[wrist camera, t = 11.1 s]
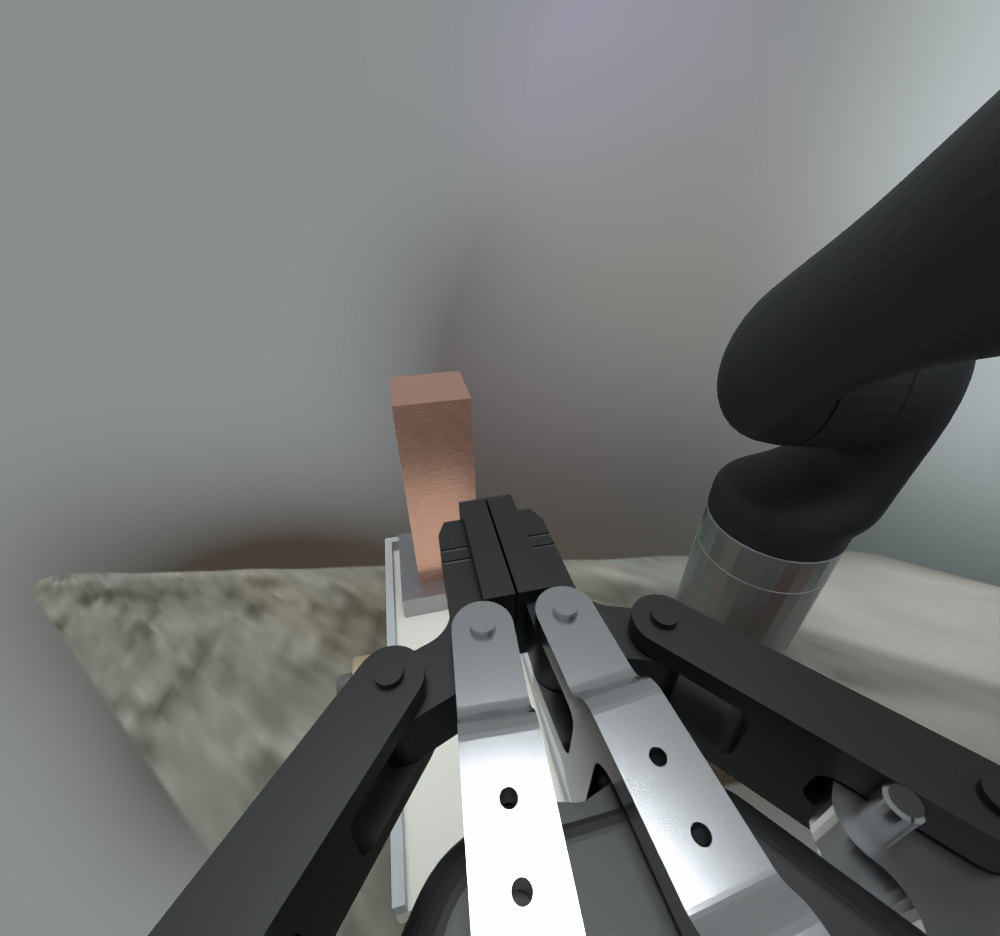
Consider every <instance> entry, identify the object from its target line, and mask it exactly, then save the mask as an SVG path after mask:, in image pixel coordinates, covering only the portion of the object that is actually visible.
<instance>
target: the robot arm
mask: <svg viewBox="0 0 1000 936" xmlns="http://www.w3.org/2000/svg"><path fill="white" fill-rule="evenodd" d="M997 356H1000V90H999V91H998V92H997V93H996V94H995V95H994V96H993V97H991V99H989V100H988V101H987V102H986V103H985V104H984V105H983V106H982V107H981V108H980V109H979V110H978V111H977V112H976V113H974V114H973V115H972V116H971V117H970V118H969V119H968V120H967V121H966V122H965V123H964V124H963V125H962V126H960V127H959V128H958V129H957V130H956V131H955V132H954V133H953V134H952V135H951V136H950V137H949V138H947V139H946V140H945V141H944V142H943V143H942V144H941V145H940V146H939V147H938V148H937V149H936V150H935V151H933V152H932V154H930V155H929V156H928V157H927V158H926V159H925V160H924V161H923V162H922V163H921V164H920V165H918V166H917V167H916V168H915V169H914V170H913V171H912V172H911V173H910V174H909V175H908V176H907V177H906V178H904V179H903V180H902V181H901V182H900V183H899V184H898V185H897V186H896V187H895V188H893V189H892V190H891V191H890V192H889V193H888V194H887V195H886V196H884V197H883V198H882V200H880V201H879V202H878V203H877V204H876V205H874V206H873V207H872V208H871V209H870V210H869V211H867V212H866V213H865V214H864V215H863V216H861V217H860V218H859V219H858V220H857V221H856V222H854V223H853V224H852V225H851V226H850V227H848V228H847V229H846V230H845V231H843V232H842V233H841V234H840V235H839V236H838V237H836V238H835V239H834V240H833V241H831V242H830V243H829V244H827V245H826V246H825V247H824V248H822V249H821V250H820V251H819V252H817V253H816V254H815V255H814V256H812V257H811V258H810V259H808V260H807V261H806V262H805V263H804V264H802V265H801V266H800V267H798V268H797V269H796V270H795V271H793V272H792V273H791V274H790V275H789V276H787V277H786V278H785V279H784V280H782V281H781V282H780V283H779V284H777V285H776V286H775V287H774V288H772V289H771V290H770V291H769V292H768V293H767V294H766V295H765V296H764V297H763V298H762V299H761V300H759V301H758V302H757V304H756V305H755V306H754V307H753V308H752V309H751V310H750V312H749V313H748V314H747V315H746V316H745V317H744V319H743V320H742V322H741V323H740V325H739V326H738V328H737V329H736V331H735V333H734V334H733V336H732V338H731V340H730V342H729V344H728V346H727V348H726V350H725V352H724V355H723V358H722V361H721V364H720V368H719V373H718V380H717V393H718V394H717V395H718V400H719V404H720V408H721V410H722V413H723V415H724V417H725V418H726V419H727V421H728V422H729V424H730V425H731V426H732V427H733V428H734V429H736V430H737V431H738V432H739V433H741V434H742V435H745V436H746V437H749V438H751V439H753V440H757V441H761V442H766V443H770V444H776V445H782V446H779V447H777V448H774V449H771V450H768V451H764V452H761V453H757V454H753V455H749V456H745V457H742V458H739V459H736V460H734V461H732V462H730V463H728V464H727V465H725V466H724V467H723V468H722V469H721V470H720V471H719V472H718V474H717V475H716V477H715V480H714V482H713V484H712V488H711V491H710V494H709V497H708V500H707V503H706V506H705V510H704V513H703V516H702V519H701V522H700V525H699V529H698V532H697V535H696V538H695V541H694V544H693V547H692V550H691V553H690V556H689V559H688V562H687V565H686V568H685V571H684V574H683V578H682V581H681V584H680V587H679V590H678V593H677V596H676V599H672V598H670V597H667V596H663V595H655V594H654V595H647V596H644V597H641V598H640V599H638V600H637V601H636V602H635V604H634V606H633V608H624V607H613V606H605V605H601V604H597V603H595V602H592V601H591V600H590V598H589V597H588V596H587V595H586V594H584V593H583V592H581V591H579V590H578V589H576V587H575V586H574V584H573V582H572V580H571V578H570V575H569V573H568V571H567V569H566V567H565V565H564V563H563V561H562V559H561V557H560V555H559V553H558V550H557V548H556V546H554V542H553V540H552V538H551V536H550V535H549V532H548V530H547V527H546V525H545V523H544V521H543V519H542V518H541V517H539V516H538V515H537V514H536V513H535V512H533V511H532V510H531V509H527V510H520V511H517V509H516V506H515V504H514V501H513V499H512V496H511V495H502V496H495V497H488V498H485V499H484V498H482V499H475V500H468V501H462V502H459V515H460V520H455V521H449V522H444V523H443V525H442V528H441V530H440V533H439V535H438V538H439V547H440V555H441V564H442V573H443V579H444V585H445V592H446V598H447V604H448V611H449V617H450V618H449V621H448V624H447V626H446V628H445V629H444V630H443V632H442V633H441V634H440V635H439V636H438V637H437V638H435V639H434V640H433V641H431V642H429V643H428V644H426V645H424V646H422V647H420V648H418V649H417V650H415V651H414V650H412V649H411V648H408V647H405V646H400V645H393V646H387V647H384V648H381V649H379V650H377V651H375V652H374V653H372V654H371V655H370V656H368V657H367V658H366V659H365V660H364V661H363V662H362V664H361V665H360V666H359V668H358V669H357V670H356V671H355V673H354V674H353V675H352V676H351V678H350V679H349V680H348V682H347V683H346V684H345V685H344V687H343V688H342V689H341V690H340V692H339V693H338V694H337V696H336V697H335V698H334V699H333V701H332V702H331V703H330V704H329V706H328V707H327V708H326V710H325V711H324V712H323V713H322V715H321V716H320V717H319V718H318V720H317V721H316V722H315V724H314V725H313V726H312V727H311V729H310V730H309V731H308V732H307V734H306V735H305V736H304V738H303V739H302V740H301V741H300V743H299V744H298V745H297V746H296V748H295V749H294V750H293V752H292V753H291V754H290V755H289V757H288V758H287V759H286V760H285V762H284V763H283V764H282V766H281V767H280V768H279V769H278V771H277V772H276V773H275V774H274V776H273V777H272V778H271V780H270V781H269V782H268V783H267V785H266V786H265V787H264V788H263V790H262V791H261V792H260V794H259V795H258V796H257V797H256V799H255V800H254V801H253V802H252V804H251V805H250V806H249V808H248V809H247V810H246V811H245V813H244V814H243V815H242V816H241V818H240V819H239V820H238V822H237V823H236V824H235V825H234V827H233V828H232V829H231V830H230V832H229V833H228V834H227V836H226V837H225V838H224V839H223V841H222V842H221V843H220V844H219V846H218V847H217V848H216V850H215V851H214V852H213V853H212V855H211V856H210V857H209V858H208V860H207V861H206V862H205V864H204V865H203V866H202V867H201V869H200V870H199V871H198V873H197V874H196V875H195V876H194V878H193V879H192V880H191V882H190V883H189V884H188V885H187V886H186V888H185V889H184V890H183V892H182V893H181V894H180V895H179V897H178V898H177V899H176V900H175V902H174V903H173V904H172V906H171V907H170V908H169V909H168V911H167V912H166V913H165V915H164V916H163V917H162V918H161V920H160V921H159V922H158V923H157V925H156V926H155V927H154V928H153V930H152V931H151V932H150V934H149V935H148V936H335V935H336V933H337V931H338V929H339V928H340V926H341V924H342V922H343V920H344V918H345V916H346V915H347V913H348V911H349V909H350V907H351V905H352V903H353V902H354V900H355V898H356V896H357V894H358V892H359V890H360V889H361V887H362V885H363V883H364V881H365V879H366V877H367V876H368V874H369V872H370V870H371V868H372V866H373V865H374V863H375V861H376V859H377V857H378V855H379V853H380V852H381V850H382V848H383V846H384V844H385V842H386V840H387V839H388V837H389V835H390V833H391V831H392V829H393V827H394V826H395V824H396V822H397V820H398V818H399V816H400V814H401V813H402V811H403V809H404V807H405V805H406V803H407V801H408V800H409V798H410V796H411V794H412V792H413V790H414V788H415V787H416V785H417V783H418V781H419V779H420V777H421V775H422V774H423V772H424V770H425V768H426V766H427V764H428V763H429V761H430V759H431V757H432V755H433V753H434V750H435V749H436V748H437V747H439V746H440V745H442V744H443V743H445V742H446V741H448V740H449V739H451V738H452V737H454V736H455V735H457V734H458V745H459V760H460V775H461V790H462V805H463V820H464V835H465V836H464V837H463V838H462V839H460V840H459V841H458V842H457V843H456V844H455V845H454V846H453V847H451V848H450V849H449V851H448V852H447V853H446V854H445V855H444V856H443V857H442V858H441V860H440V861H439V862H438V864H437V865H436V866H435V868H434V869H433V871H432V872H431V874H430V875H429V877H428V878H427V880H426V882H425V884H424V886H423V887H422V889H421V891H420V893H419V895H418V897H417V899H416V902H415V904H414V906H413V909H412V911H411V913H410V916H409V918H408V920H407V923H406V925H405V928H404V930H403V932H402V935H401V936H1000V765H998V764H996V763H994V762H992V761H990V760H988V759H986V758H984V757H982V756H980V755H979V754H977V753H975V752H973V751H971V750H969V749H967V748H965V747H963V746H961V745H959V744H957V743H955V742H953V741H951V740H949V739H947V738H945V737H943V736H941V735H939V734H937V733H935V732H933V731H931V730H930V729H928V728H926V727H924V726H922V725H920V724H918V723H916V722H914V721H912V720H910V719H908V718H906V717H904V716H902V715H900V714H898V713H896V712H894V711H892V710H890V709H888V708H886V707H884V706H882V705H881V704H879V703H877V702H875V701H873V700H871V699H869V698H867V697H865V696H863V695H861V694H859V693H857V692H855V691H853V690H851V689H849V688H847V687H845V686H843V685H841V684H839V683H837V682H835V681H833V680H832V679H830V678H828V677H826V676H824V675H822V674H820V673H818V672H816V671H814V670H812V669H810V668H808V667H806V666H804V665H802V664H800V663H798V662H796V661H794V660H792V659H790V658H788V657H786V656H784V655H783V654H784V653H785V651H786V649H787V647H788V646H789V644H790V642H791V641H792V639H793V637H794V636H795V634H796V632H797V631H798V629H799V627H800V626H801V624H802V622H803V621H804V619H805V617H806V616H807V614H808V612H809V611H810V609H811V607H812V605H813V604H814V602H815V600H816V599H817V597H818V595H819V594H820V592H821V590H822V589H823V587H824V585H825V584H826V582H827V580H828V578H829V576H830V575H831V573H832V571H833V570H834V568H835V566H836V565H837V563H838V561H839V560H840V558H841V556H842V554H843V553H844V551H845V549H846V548H847V546H848V544H849V543H850V541H851V540H852V538H853V537H855V536H857V535H859V534H861V533H863V532H864V531H866V530H868V529H869V528H870V527H871V526H873V525H874V524H875V523H876V522H877V521H878V520H879V519H880V518H881V516H882V515H883V514H884V513H885V511H886V510H887V509H888V507H889V506H890V504H891V503H892V501H893V500H894V498H895V497H896V495H897V494H898V493H899V492H900V490H901V489H902V488H903V486H904V485H905V483H906V482H907V481H908V479H909V478H910V476H911V475H912V473H913V472H914V471H915V470H916V468H917V467H918V466H919V464H920V463H921V461H922V460H923V459H924V457H925V456H926V455H927V453H928V452H929V451H930V449H931V448H932V447H933V445H934V444H935V442H936V441H937V440H938V438H939V437H940V435H941V434H942V432H943V431H944V429H945V428H946V426H947V425H948V423H949V422H950V420H951V418H952V416H953V415H954V413H955V411H956V410H957V408H958V406H959V404H960V403H961V401H962V398H963V397H964V394H965V392H966V390H967V387H968V385H969V382H970V380H971V377H972V374H973V371H974V367H975V362H976V360H977V359H983V358H990V357H997ZM527 652H528V656H529V659H530V662H531V665H532V672H531V679H532V683H533V686H534V689H535V691H536V694H537V697H538V699H539V702H540V704H541V707H542V709H543V712H544V715H545V717H546V720H547V722H548V725H549V728H550V730H551V733H552V735H553V738H554V741H555V743H556V746H557V748H558V751H559V754H560V756H561V759H562V763H563V767H564V772H565V779H566V784H567V788H568V791H569V795H570V798H571V801H572V802H556V797H555V793H554V788H553V784H552V779H551V774H550V770H549V765H548V761H547V756H546V752H545V747H544V742H543V738H542V733H541V729H540V724H539V720H538V717H537V714H536V711H535V709H534V708H532V706H531V703H530V699H529V695H528V690H527V685H526V680H525V676H524V671H523V666H522V661H521V656H520V654H522V653H527ZM705 759H707V760H708V761H710V762H711V763H713V764H714V765H716V766H717V767H719V768H720V769H722V770H723V771H724V772H726V773H727V774H729V775H730V776H732V777H733V778H735V779H736V780H738V781H739V782H741V783H742V784H744V785H745V786H747V787H748V788H750V789H751V790H752V791H754V792H755V793H757V794H758V795H760V796H761V797H763V798H764V799H766V800H767V801H769V802H770V803H772V804H773V805H775V806H776V807H777V808H779V809H780V810H782V811H783V812H785V813H786V814H788V815H789V816H791V817H792V818H794V819H795V820H797V821H798V822H800V823H801V824H803V825H804V826H805V827H807V828H808V829H810V830H811V833H812V836H813V839H814V841H815V843H816V845H817V851H818V854H817V853H815V852H814V851H813V850H811V849H810V848H808V847H807V846H806V845H804V844H803V843H802V842H800V841H799V840H798V839H796V838H795V837H794V836H792V835H791V834H789V833H788V832H787V831H785V830H784V829H783V828H781V827H780V826H778V825H777V824H776V823H774V822H773V821H772V820H770V819H769V818H768V817H766V816H765V815H764V814H762V813H761V812H759V811H758V810H757V809H755V808H754V807H753V806H751V805H750V804H749V803H747V802H746V801H744V800H743V799H742V798H740V797H739V796H737V795H736V794H734V793H732V792H731V791H729V790H727V789H725V788H724V787H722V785H721V783H720V782H719V780H718V779H717V777H716V775H715V774H714V772H713V771H712V769H711V768H710V766H709V764H708V763H707V761H706V760H705Z"/></svg>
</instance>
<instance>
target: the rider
mask: <svg viewBox="0 0 1000 936" xmlns="http://www.w3.org/2000/svg"><path fill="white" fill-rule="evenodd" d="M390 386H391V402H392V411H393V417H394V424H395V430H396V436H397V443H398V449H399V455H400V462H401V467H402V474H403V480H404V486H405V493H406V500H407V506H408V512H409V519H410V525H411V531H412V533H407V534H400V535H398V539H399V556H400V573H401V590H402V603H403V608H404V613H405V618H408V617H413V616H418V615H423V614H428V613H433V612H439V611H444V610H448V604H447V598H446V592H445V585H444V579H443V573H442V564H441V555H440V547H439V538H438V535H439V533H440V530H441V528H442V525H443V523H444V522H449V521H455V520H460V515H459V502H462V501H468V500H475V499H476V490H475V472H474V471H475V470H474V448H473V427H472V406H471V397H470V395H469V392H468V390H467V388H466V385H465V383H464V381H463V379H462V376H461V374H460V372H459V371H454V372H442V373H431V374H420V375H409V376H398V377H390Z"/></svg>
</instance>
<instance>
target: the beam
mask: <svg viewBox="0 0 1000 936" xmlns="http://www.w3.org/2000/svg"><path fill="white" fill-rule="evenodd" d="M385 559H386V560H385V561H386V615H387V646H393V645H400V646H405V647H408V648H411V649H412V650H414V651H415V650H417V649H418V648H420V647H422V646H424V645H426V644H428V643H429V642H431V641H433V640H434V639H435V638H437V637H438V636H439V635H440V634H441V633H442V632H443V630H444V629H445V628H446V626H447V624H448V621H449V618H450V617H449V611H448V610H444V611H439V612H433V613H428V614H423V615H418V616H413V617H408V618H405V613H404V608H403V603H402V590H401V573H400V556H399V539H398V537H393V538H387V539H385ZM520 656H521V661H522V666H523V671H524V676H525V680H526V685H527V690H528V695H529V699H530V703H531V706H532V708H534V709H535V711H536V714H537V717H538V720H539V724H540V729H541V733H542V738H543V742H544V747H545V752H546V756H547V761H548V765H549V770H550V774H551V779H552V784H553V788H554V793H555V797H556V802H572V801H571V798H570V795H569V791H568V788H567V784H566V779H565V772H564V767H563V763H562V759H561V756H560V754H559V751H558V748H557V746H556V743H555V741H554V738H553V735H552V733H551V730H550V728H549V725H548V722H547V720H546V717H545V715H544V712H543V709H542V707H541V704H540V702H539V699H538V697H537V694H536V691H535V689H534V686H533V683H532V679H531V672H532V665H531V662H530V659H529V656H528V652H527V653H522V654H520ZM464 836H465V835H464V820H463V805H462V790H461V775H460V760H459V745H458V734H457V735H455V736H454V737H452V738H451V739H449V740H448V741H446V742H445V743H443V744H442V745H440V746H439V747H437V748H436V749H435V750H434V753H433V755H432V757H431V759H430V761H429V763H428V764H427V766H426V768H425V770H424V772H423V774H422V775H421V777H420V779H419V781H418V783H417V785H416V787H415V788H414V790H413V792H412V794H411V796H410V798H409V800H408V801H407V803H406V805H405V807H404V809H403V811H402V813H401V814H400V816H399V818H398V820H397V822H396V824H395V826H394V827H393V829H392V831H391V885H392V910H393V912H394V914H395V916H396V917H397V919H398V921H399V923H400V924H402V923H405V922H407V920H408V918H409V916H410V913H411V911H412V909H413V906H414V904H415V902H416V899H417V897H418V895H419V893H420V891H421V889H422V887H423V886H424V884H425V882H426V880H427V878H428V877H429V875H430V874H431V872H432V871H433V869H434V868H435V866H436V865H437V864H438V862H439V861H440V860H441V858H442V857H443V856H444V855H445V854H446V853H447V852H448V851H449V849H450V848H451V847H453V846H454V845H455V844H456V843H457V842H458V841H459V840H460V839H462V838H463V837H464Z"/></svg>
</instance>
